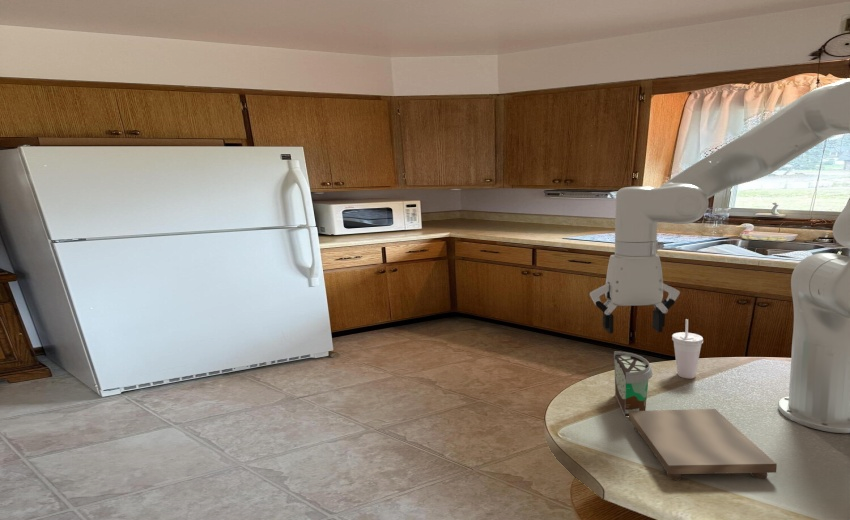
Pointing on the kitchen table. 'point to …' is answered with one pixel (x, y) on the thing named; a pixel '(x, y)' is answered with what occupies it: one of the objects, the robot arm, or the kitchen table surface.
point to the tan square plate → (699, 443)
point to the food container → (631, 381)
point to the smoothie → (687, 352)
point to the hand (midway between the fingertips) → (633, 330)
